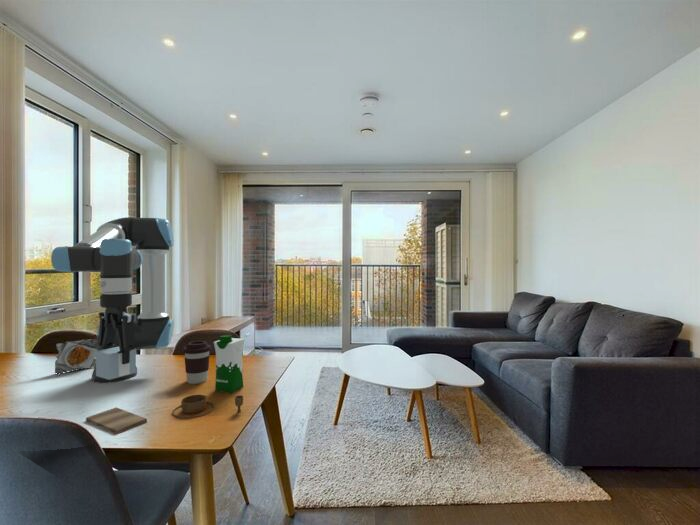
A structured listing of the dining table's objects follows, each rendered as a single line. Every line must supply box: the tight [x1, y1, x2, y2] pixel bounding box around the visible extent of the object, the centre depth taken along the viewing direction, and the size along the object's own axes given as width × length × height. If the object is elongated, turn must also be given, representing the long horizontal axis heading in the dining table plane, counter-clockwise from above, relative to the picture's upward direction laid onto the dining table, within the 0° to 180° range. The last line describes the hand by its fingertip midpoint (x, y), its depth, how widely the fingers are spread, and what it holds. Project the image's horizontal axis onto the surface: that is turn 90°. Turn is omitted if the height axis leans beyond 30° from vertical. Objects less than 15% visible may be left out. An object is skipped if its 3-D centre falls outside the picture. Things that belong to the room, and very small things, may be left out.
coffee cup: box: [182, 340, 212, 385], centre depth 135 cm, size 10×10×15 cm
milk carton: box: [213, 334, 245, 394], centre depth 126 cm, size 9×9×20 cm
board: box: [85, 406, 148, 435], centre depth 99 cm, size 16×8×2 cm, turn 61°
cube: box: [95, 347, 137, 380], centre depth 99 cm, size 7×7×7 cm
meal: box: [54, 338, 97, 374], centre depth 147 cm, size 15×4×13 cm, turn 142°
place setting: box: [171, 394, 244, 419], centre depth 105 cm, size 18×20×6 cm
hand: (116, 372), depth 99 cm, fingers closed on cube, 7 cm apart
